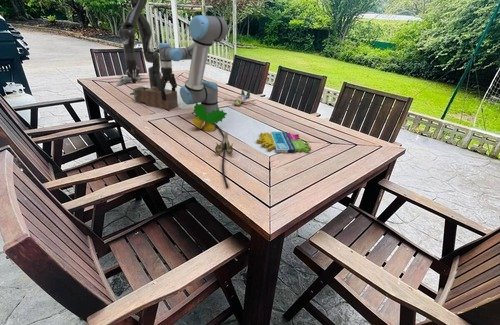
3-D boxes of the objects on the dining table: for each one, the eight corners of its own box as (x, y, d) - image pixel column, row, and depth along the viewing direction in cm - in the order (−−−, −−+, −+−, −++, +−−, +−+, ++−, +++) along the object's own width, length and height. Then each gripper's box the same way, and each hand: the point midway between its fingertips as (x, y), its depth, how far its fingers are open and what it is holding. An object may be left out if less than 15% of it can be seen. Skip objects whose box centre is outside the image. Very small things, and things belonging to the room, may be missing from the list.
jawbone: (234, 135, 144) (233, 125, 135) (233, 160, 138) (232, 151, 129) (217, 135, 144) (216, 125, 135) (216, 160, 138) (214, 150, 129)
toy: (261, 91, 228) (254, 99, 202) (261, 99, 231) (253, 108, 205) (231, 87, 233) (220, 95, 207) (230, 95, 236) (219, 104, 210)
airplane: (112, 78, 264) (110, 67, 259) (144, 76, 278) (143, 66, 272) (114, 87, 236) (112, 76, 231) (151, 85, 249) (149, 74, 244)
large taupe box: (145, 105, 197) (143, 89, 191) (155, 101, 206) (153, 86, 200) (169, 109, 191) (167, 94, 185) (177, 106, 200) (176, 91, 194)
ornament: (218, 133, 171) (224, 110, 169) (221, 134, 163) (227, 111, 161) (186, 125, 162) (192, 101, 160) (189, 126, 155) (195, 101, 153)
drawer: (129, 100, 202) (127, 87, 197) (138, 97, 210) (136, 85, 205) (156, 105, 194) (154, 92, 190) (164, 102, 202) (163, 90, 198)
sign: (313, 150, 142) (258, 149, 139) (312, 153, 143) (258, 152, 140) (301, 132, 164) (254, 130, 161) (301, 134, 165) (254, 133, 162)
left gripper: (133, 57, 197) (136, 81, 205) (119, 59, 186) (123, 84, 194) (141, 58, 195) (144, 82, 203) (127, 60, 184) (131, 85, 192)
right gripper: (172, 64, 193) (174, 94, 204) (150, 69, 174) (154, 101, 184) (180, 65, 191) (182, 95, 202) (159, 70, 172) (163, 103, 182)
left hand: (134, 83), depth 199 cm, fingers closed
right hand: (169, 98), depth 193 cm, fingers open, 11 cm apart
